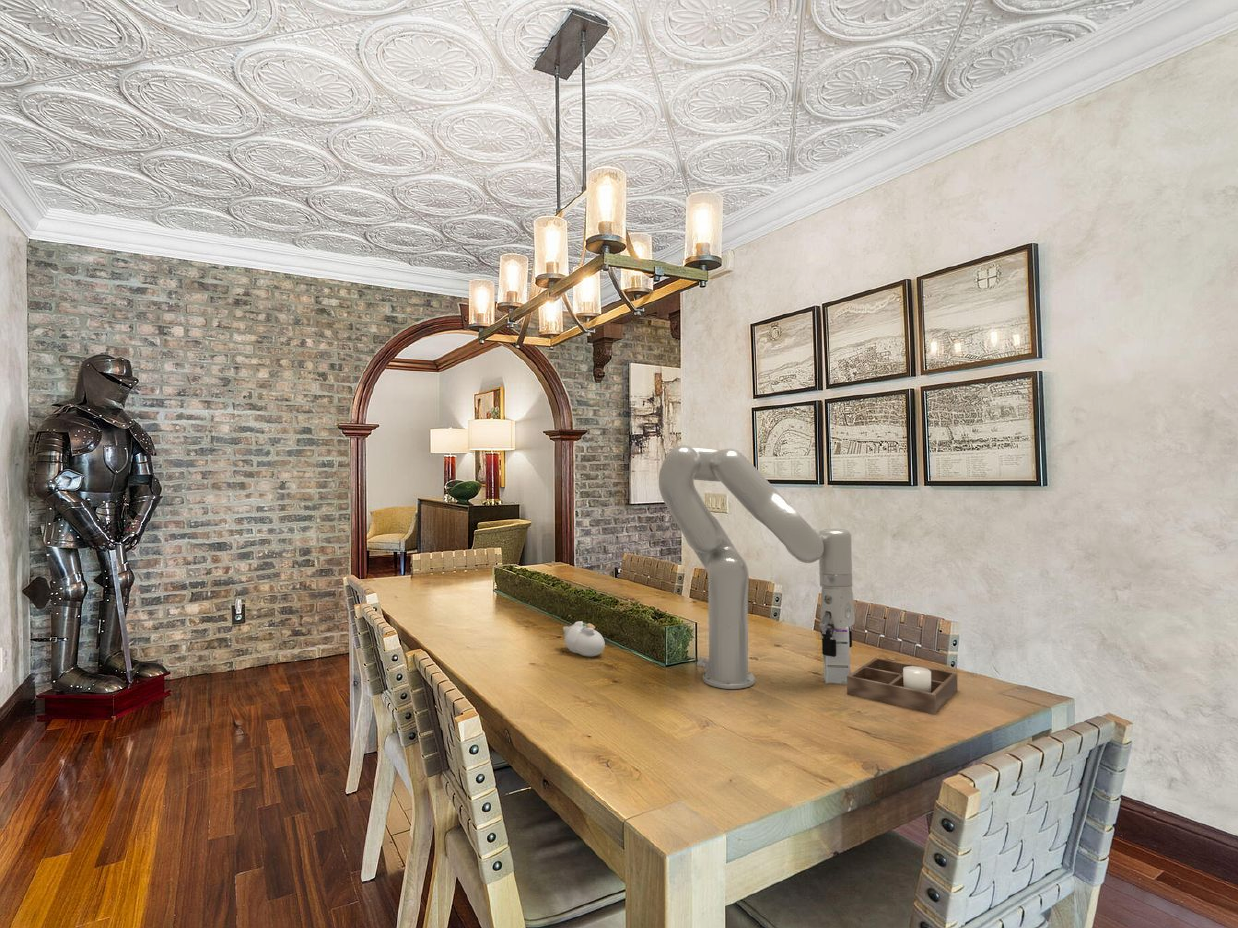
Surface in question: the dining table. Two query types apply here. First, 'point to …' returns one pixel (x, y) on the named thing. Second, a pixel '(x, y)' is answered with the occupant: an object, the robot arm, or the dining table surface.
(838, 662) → the grey tall block
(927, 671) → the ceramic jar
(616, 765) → the dining table surface
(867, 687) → the tray
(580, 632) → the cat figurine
